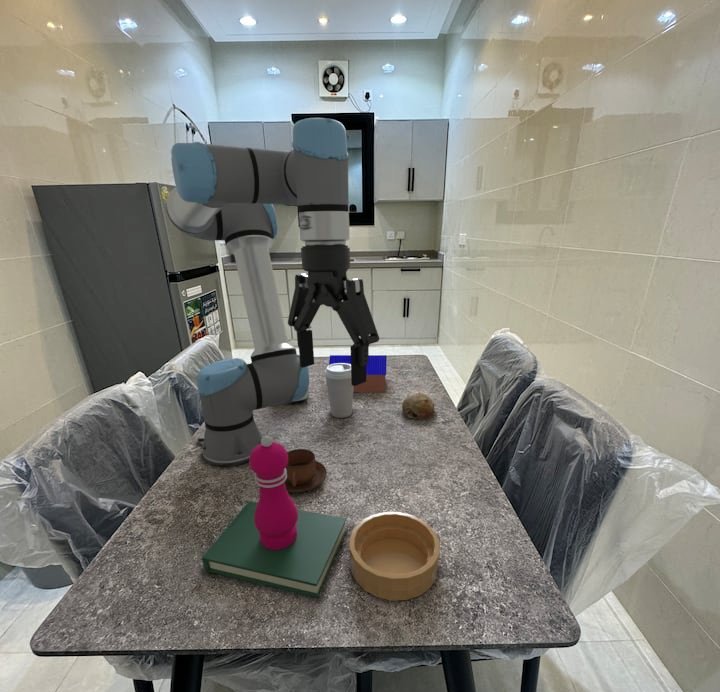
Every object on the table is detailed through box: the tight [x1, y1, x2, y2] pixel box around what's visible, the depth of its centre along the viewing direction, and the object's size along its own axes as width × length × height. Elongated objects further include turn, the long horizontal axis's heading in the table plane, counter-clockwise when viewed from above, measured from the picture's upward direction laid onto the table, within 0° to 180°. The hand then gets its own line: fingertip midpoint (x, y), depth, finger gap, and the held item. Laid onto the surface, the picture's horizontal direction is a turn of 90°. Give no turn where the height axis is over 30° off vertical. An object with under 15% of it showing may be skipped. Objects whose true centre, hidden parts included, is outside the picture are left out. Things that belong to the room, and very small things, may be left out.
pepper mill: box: [248, 435, 298, 550], centre depth 63 cm, size 7×7×20 cm
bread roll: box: [401, 392, 435, 420], centre depth 117 cm, size 10×10×8 cm
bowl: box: [349, 511, 441, 602], centre depth 64 cm, size 15×15×5 cm
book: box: [201, 500, 348, 599], centre depth 67 cm, size 20×15×3 cm
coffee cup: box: [323, 363, 354, 419], centre depth 116 cm, size 10×10×15 cm
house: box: [328, 354, 388, 393], centre depth 137 cm, size 12×20×12 cm, turn 86°
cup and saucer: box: [285, 448, 327, 493], centre depth 86 cm, size 12×12×6 cm
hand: (331, 374), depth 67 cm, fingers open, 13 cm apart
